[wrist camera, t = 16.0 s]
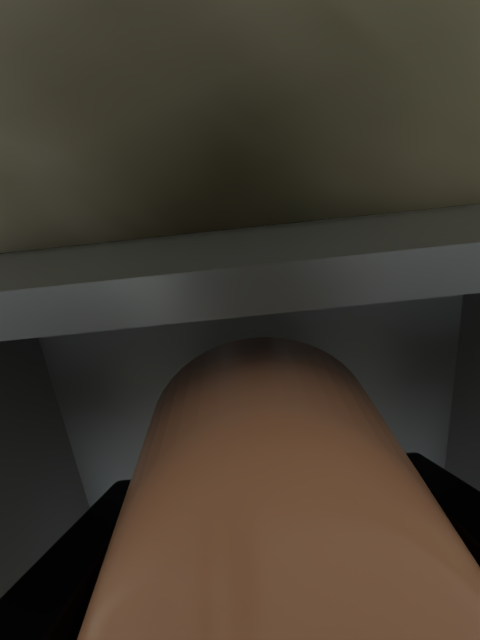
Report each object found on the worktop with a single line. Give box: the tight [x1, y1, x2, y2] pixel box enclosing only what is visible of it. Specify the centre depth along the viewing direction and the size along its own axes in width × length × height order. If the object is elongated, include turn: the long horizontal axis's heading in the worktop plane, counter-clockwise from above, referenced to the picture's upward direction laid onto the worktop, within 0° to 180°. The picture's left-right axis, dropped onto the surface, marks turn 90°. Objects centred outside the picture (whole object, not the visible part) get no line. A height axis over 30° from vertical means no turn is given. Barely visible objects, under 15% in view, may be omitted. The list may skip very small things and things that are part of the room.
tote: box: [0, 204, 480, 598], centre depth 11 cm, size 18×14×5 cm
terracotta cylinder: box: [77, 337, 480, 640], centre depth 5 cm, size 5×5×7 cm
